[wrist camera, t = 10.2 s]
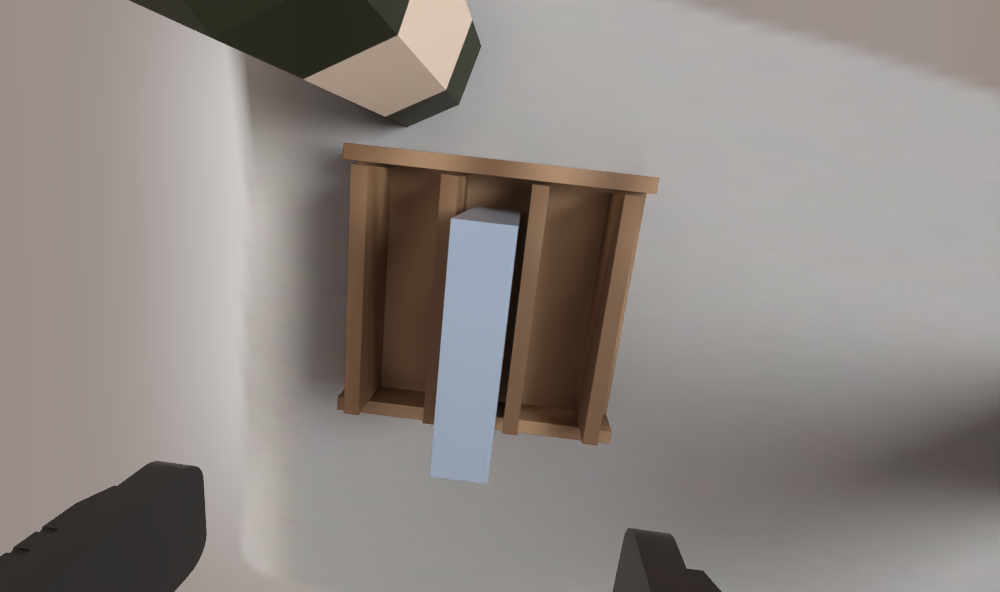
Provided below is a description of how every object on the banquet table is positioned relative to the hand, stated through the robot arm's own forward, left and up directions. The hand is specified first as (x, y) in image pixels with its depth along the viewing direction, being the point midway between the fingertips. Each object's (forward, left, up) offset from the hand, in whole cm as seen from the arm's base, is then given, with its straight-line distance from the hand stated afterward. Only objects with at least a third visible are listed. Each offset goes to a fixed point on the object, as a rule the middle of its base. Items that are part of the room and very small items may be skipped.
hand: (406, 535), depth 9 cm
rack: (0, 0, -20) cm, 20 cm away
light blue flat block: (0, 0, -19) cm, 19 cm away
